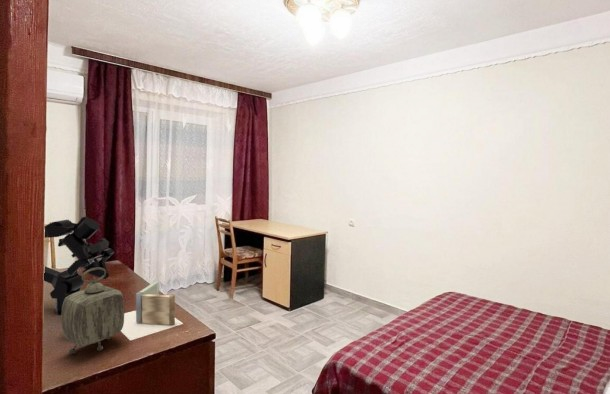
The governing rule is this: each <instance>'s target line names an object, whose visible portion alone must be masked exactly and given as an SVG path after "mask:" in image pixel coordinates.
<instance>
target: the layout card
mask: <svg viewBox="0 0 610 394" xmlns="http://www.w3.org/2000/svg"><path fill="white" fill-rule="evenodd" d="M181 325H184V323H183V322H182V321H180V320H179V319H178V318H176V317H175V325H173V326H171V325H161V324H144V323H142V322H140V323H137V322H136V309H135V310H132V311H129V312H124V324H123V328H122V330H121V331H120V332H121V333H122V334H123V335H124V336H125V337H126V338H127V339H128V340H129V341H133V340H137V339H140V338H143V337H146V336H149V335H153V334H156V333H159V332H162V331H166V330H168V329H171V328H174V327H177V326H181Z"/></svg>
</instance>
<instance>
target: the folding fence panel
mask: <svg viewBox="0 0 610 394" xmlns="http://www.w3.org/2000/svg"><path fill="white" fill-rule="evenodd" d="M159 284H160V282H159V281H157V280H156V281H153V282H152V283H150V284H149V285H147V286H146V287H144V288H143V289H141V290H140V291H137V292H136V293H135V310H136V322H137V323H140V322H142V298H141V296H142V295H143V294H153V295H160V291H159V287H160V285H159Z"/></svg>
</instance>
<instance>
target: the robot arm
mask: <svg viewBox="0 0 610 394" xmlns="http://www.w3.org/2000/svg"><path fill="white" fill-rule="evenodd" d="M44 227H45V238H44V239H46V238H48V239H49V238H59V239H58V245H57V247H62V246H65V247H66V248H67V249H68V250H69V251H70V252H71V255H70V256H71V257H72V258H76V260H75V261H73V263H71V265H70V266H68V268H67V269H66V270H64V271H58V270H56V269H53V268H51V267H48V266H45V265H44V266H45V273H44V281H43V282H45V283H48V284H51V286H52V287H53V290H52V291H50V293H49V295H50V297H51V299H55V300H54V301H55V308H54V312H55V313H56V315H58V316H59V315H61V314H62V306H63V302H64V300H65V298H66V297H68V296H69V295H71V294H73V293H76V292H79V291H81V288H82V287H83V285H84V283H85V282H84V281H83V280H82V275H81V274H79V273H80V272H78V270H79V269H82V268H83V271H82V274H84V273H85V272H86V271H87V270H89V269H92V268H97V267H100V268H104V269H105V270H106V275H105V277H104V278H103V279H102V280H106V279H108V278H109V277H110V274H109V271H108V269H107V267H106V261H107V260H108V259H109V258H110V257H111V256H112V255H113V254H114V253H115V251H114V250H113V248H111V247H110V248H109V245H110V241H108V239H106V238H105V237H104V238H101V239H98V242H97V243H94V244H93V243H91V242H87V241H86V240H88V239H90V238H91V237H92V236H93V235H94V234H95V233H96V232H97V231H98V230H100V224H99V223H98V222H97V221H95V220H94V219H92V218H89V217H88V216H82V217H81V218H80V220H79V221H78V222H77V223H76V222H72V221H71V220H70V219H62V220H61V219H60V220H56V221H52V222H50V223H48V224H46V225H45V226H44ZM63 236H64V237H63ZM60 237H62V238H60ZM87 274H89V275H92V276H94V277H96V278H100V277H102V276H103V275H104V274H105V272H104V271H103V270H100V269H99V270H93V271H90V272H88V273H87Z"/></svg>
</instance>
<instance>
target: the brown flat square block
mask: <svg viewBox="0 0 610 394" xmlns="http://www.w3.org/2000/svg"><path fill="white" fill-rule="evenodd" d="M141 298H142V323H144V324H161V325H171V326H173V325H175V318H176V307H175V306H176V300H175V299H176V295H175V294H170V295H169V294H168V295H167V294H159V295H153V294H143V295H142V296H141Z"/></svg>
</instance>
